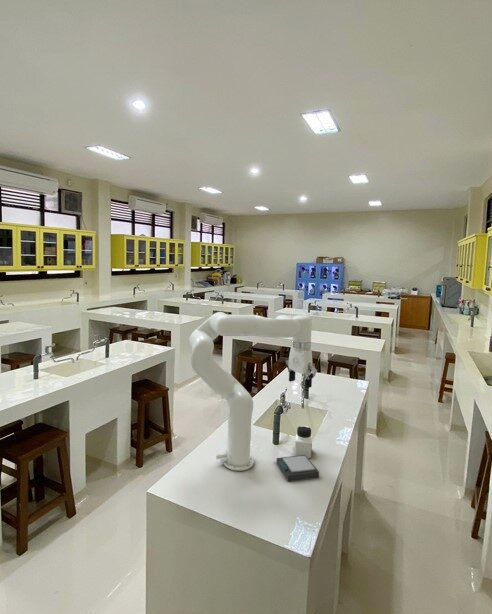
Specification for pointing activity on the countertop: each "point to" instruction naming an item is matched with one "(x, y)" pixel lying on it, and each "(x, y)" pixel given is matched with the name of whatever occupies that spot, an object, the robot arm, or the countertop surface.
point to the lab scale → (297, 468)
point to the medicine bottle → (303, 441)
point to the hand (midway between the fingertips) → (299, 384)
